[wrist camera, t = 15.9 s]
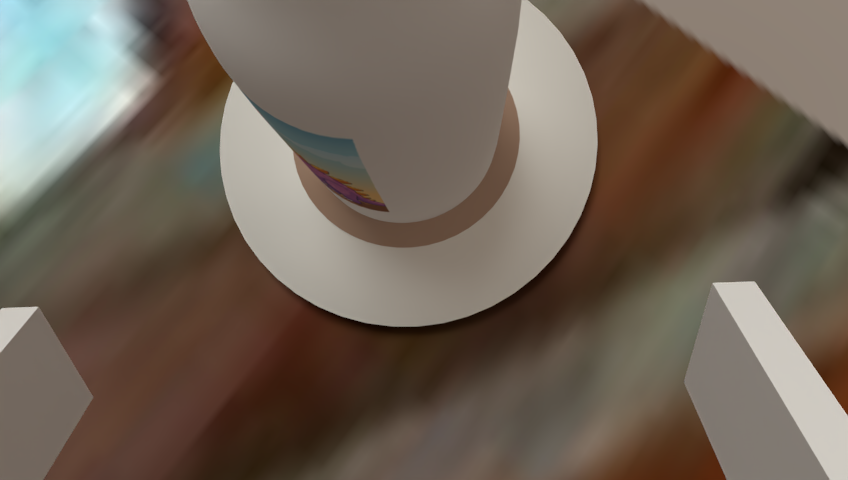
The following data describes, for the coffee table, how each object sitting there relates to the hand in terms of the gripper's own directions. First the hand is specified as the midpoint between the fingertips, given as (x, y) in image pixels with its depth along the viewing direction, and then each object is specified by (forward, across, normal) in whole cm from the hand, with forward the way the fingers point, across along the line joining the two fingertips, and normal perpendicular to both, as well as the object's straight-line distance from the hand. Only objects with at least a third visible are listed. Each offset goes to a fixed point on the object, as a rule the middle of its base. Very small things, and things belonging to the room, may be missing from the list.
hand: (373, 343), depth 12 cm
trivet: (+15, 0, -3) cm, 15 cm away
